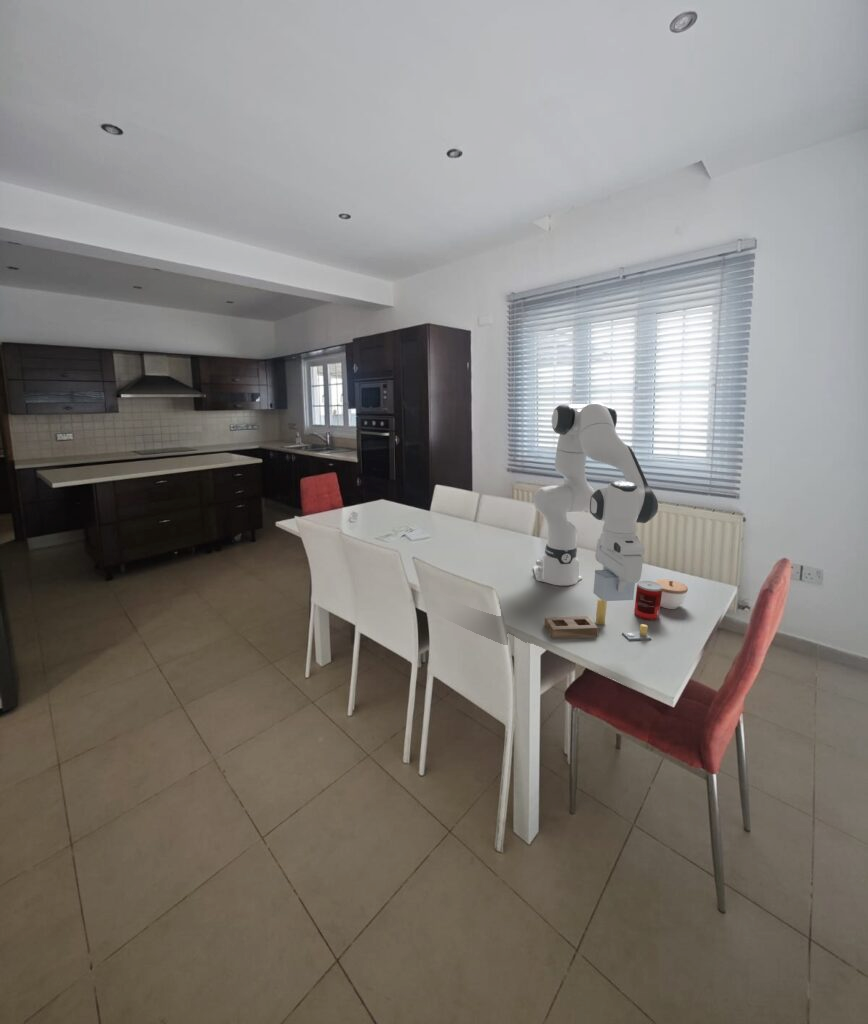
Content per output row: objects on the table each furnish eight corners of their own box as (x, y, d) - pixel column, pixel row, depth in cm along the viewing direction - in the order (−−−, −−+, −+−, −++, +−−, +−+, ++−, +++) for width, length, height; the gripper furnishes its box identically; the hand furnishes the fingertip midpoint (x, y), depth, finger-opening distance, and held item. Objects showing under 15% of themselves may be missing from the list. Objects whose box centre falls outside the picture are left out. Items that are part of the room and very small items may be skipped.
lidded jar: (666, 613, 156) (670, 587, 154) (644, 600, 166) (647, 576, 164) (692, 610, 159) (695, 584, 156) (669, 597, 169) (672, 573, 166)
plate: (622, 634, 141) (623, 623, 141) (644, 633, 142) (645, 622, 141) (628, 640, 138) (630, 629, 137) (651, 639, 138) (652, 628, 137)
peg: (594, 620, 150) (596, 598, 148) (602, 620, 150) (604, 597, 149) (597, 624, 147) (600, 601, 146) (606, 624, 148) (608, 601, 146)
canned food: (651, 610, 158) (655, 580, 156) (663, 620, 151) (667, 589, 148) (629, 610, 158) (633, 580, 156) (640, 620, 150) (644, 589, 148)
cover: (593, 592, 134) (595, 566, 132) (622, 591, 135) (625, 566, 133) (602, 601, 128) (604, 574, 126) (633, 600, 129) (636, 573, 127)
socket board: (544, 626, 146) (544, 617, 146) (586, 624, 148) (587, 616, 147) (552, 638, 139) (553, 629, 138) (597, 636, 140) (598, 627, 139)
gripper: (591, 530, 137) (588, 573, 141) (625, 551, 118) (620, 600, 121) (612, 529, 138) (607, 572, 141) (648, 550, 118) (643, 600, 121)
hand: (613, 586), depth 131 cm, fingers closed on cover, 6 cm apart
